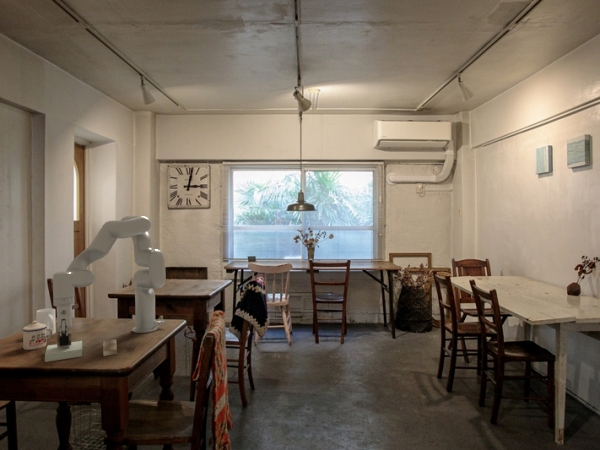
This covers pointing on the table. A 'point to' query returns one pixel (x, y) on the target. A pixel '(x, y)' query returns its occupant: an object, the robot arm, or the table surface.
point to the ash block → (109, 347)
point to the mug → (46, 319)
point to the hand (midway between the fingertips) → (64, 342)
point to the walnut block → (59, 339)
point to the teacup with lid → (35, 336)
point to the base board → (63, 351)
